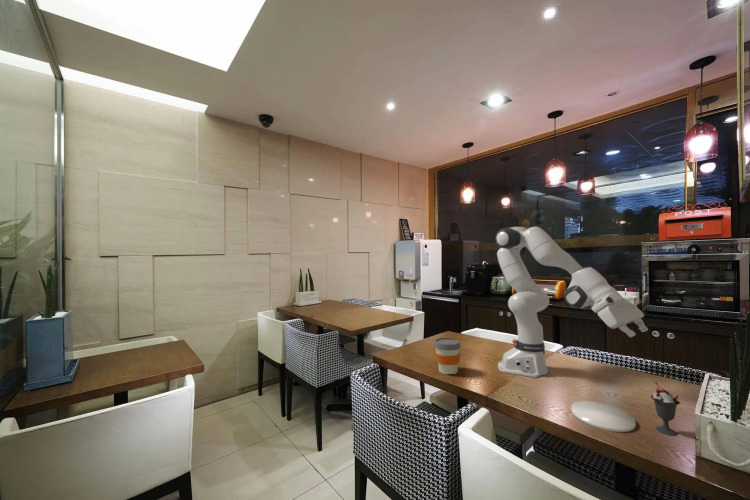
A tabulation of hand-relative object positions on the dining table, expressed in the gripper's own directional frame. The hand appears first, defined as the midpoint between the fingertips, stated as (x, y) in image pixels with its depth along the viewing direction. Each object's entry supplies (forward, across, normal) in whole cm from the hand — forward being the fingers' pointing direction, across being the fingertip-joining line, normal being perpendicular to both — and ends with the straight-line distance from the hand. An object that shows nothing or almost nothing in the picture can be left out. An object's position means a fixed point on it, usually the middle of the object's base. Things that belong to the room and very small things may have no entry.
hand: (639, 333), depth 110 cm
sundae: (+27, +11, -10) cm, 31 cm away
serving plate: (+17, +19, -21) cm, 33 cm away
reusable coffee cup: (-21, +37, -66) cm, 78 cm away
